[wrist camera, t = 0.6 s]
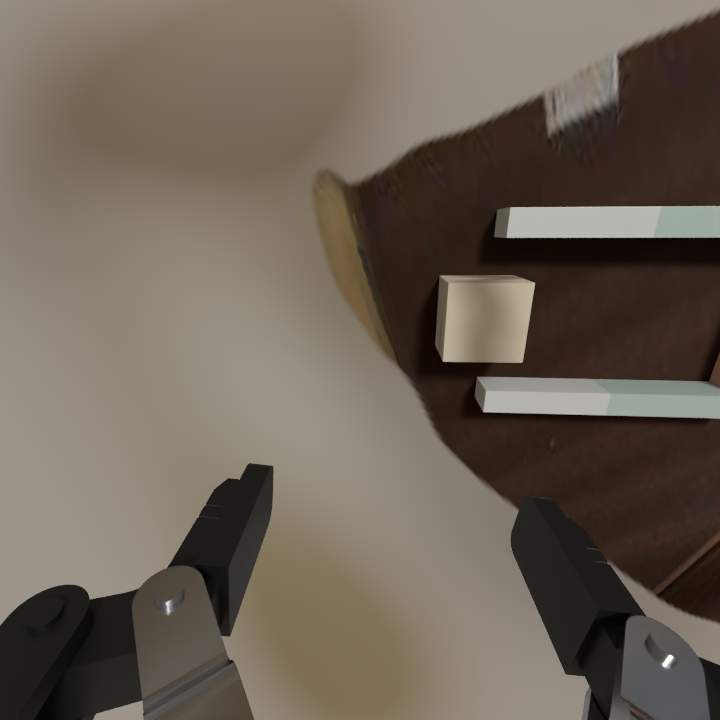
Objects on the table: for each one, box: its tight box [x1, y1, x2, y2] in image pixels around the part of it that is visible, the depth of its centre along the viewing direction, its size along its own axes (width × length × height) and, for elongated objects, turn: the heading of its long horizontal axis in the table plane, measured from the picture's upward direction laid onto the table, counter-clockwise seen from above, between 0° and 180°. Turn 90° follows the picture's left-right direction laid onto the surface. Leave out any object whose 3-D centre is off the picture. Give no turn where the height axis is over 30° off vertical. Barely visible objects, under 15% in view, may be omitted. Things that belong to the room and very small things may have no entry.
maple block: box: [435, 275, 535, 363], centre depth 28 cm, size 6×6×4 cm
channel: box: [475, 206, 720, 418], centre depth 28 cm, size 22×16×3 cm
